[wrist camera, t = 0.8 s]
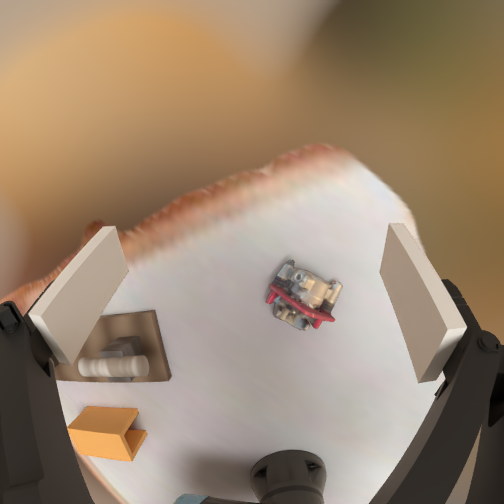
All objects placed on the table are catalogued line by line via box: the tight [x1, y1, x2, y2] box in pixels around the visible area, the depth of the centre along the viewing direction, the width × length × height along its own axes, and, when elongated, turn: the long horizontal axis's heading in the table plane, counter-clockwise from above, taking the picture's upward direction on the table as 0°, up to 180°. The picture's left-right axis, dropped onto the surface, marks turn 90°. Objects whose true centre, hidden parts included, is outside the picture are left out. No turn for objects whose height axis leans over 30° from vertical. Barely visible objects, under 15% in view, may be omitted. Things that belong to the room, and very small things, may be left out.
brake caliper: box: [266, 260, 343, 330], centre depth 43 cm, size 11×10×11 cm
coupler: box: [67, 406, 147, 462], centre depth 44 cm, size 12×6×9 cm, turn 99°
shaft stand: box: [50, 310, 171, 382], centre depth 42 cm, size 30×12×10 cm, turn 99°
